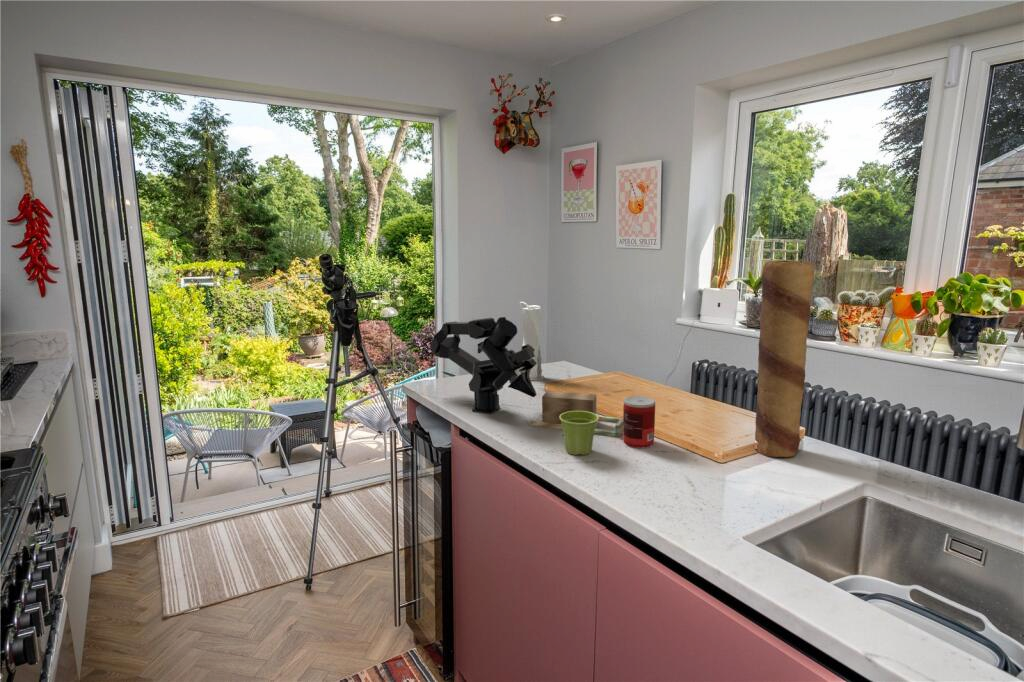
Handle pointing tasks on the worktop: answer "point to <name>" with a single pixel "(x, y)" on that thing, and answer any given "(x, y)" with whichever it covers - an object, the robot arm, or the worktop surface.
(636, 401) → the canned food
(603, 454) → the worktop surface
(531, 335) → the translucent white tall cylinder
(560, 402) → the walnut block
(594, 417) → the plant pot
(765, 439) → the wafer roll
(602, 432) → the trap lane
